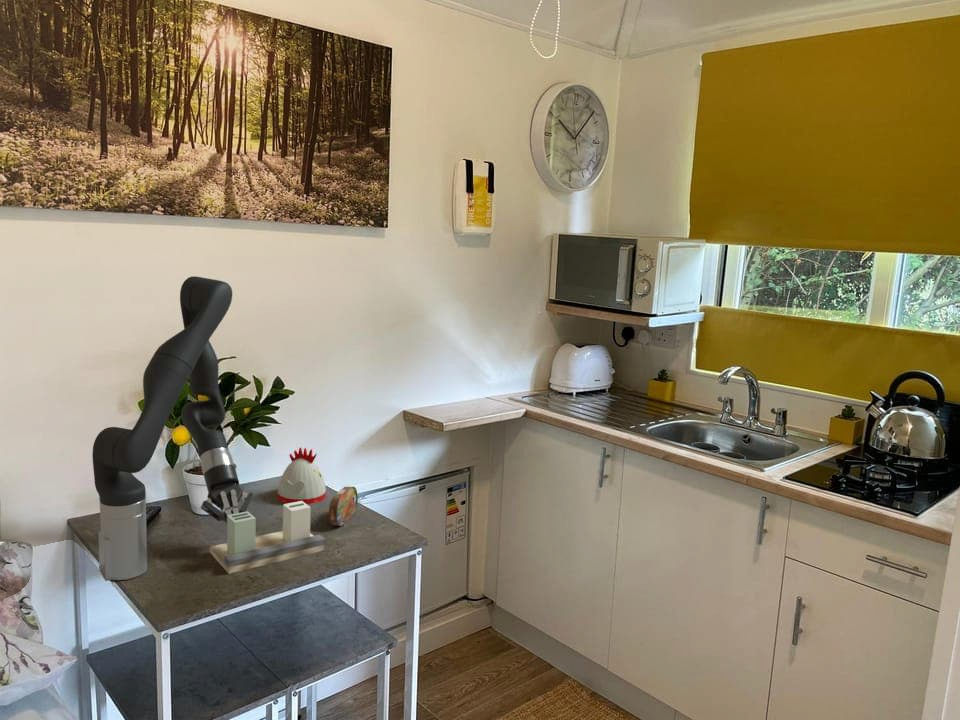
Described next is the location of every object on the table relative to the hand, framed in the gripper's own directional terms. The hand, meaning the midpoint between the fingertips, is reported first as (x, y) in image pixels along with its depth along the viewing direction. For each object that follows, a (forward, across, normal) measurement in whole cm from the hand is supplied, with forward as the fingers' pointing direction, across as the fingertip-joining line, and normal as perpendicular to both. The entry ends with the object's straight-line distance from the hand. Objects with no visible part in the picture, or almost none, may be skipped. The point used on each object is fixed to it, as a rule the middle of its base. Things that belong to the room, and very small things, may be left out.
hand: (236, 533), depth 175 cm
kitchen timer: (-16, +30, +24) cm, 42 cm away
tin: (0, +32, +8) cm, 33 cm away
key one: (+5, +14, 0) cm, 15 cm away
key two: (+5, 0, 0) cm, 5 cm away
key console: (+5, +7, +2) cm, 9 cm away
